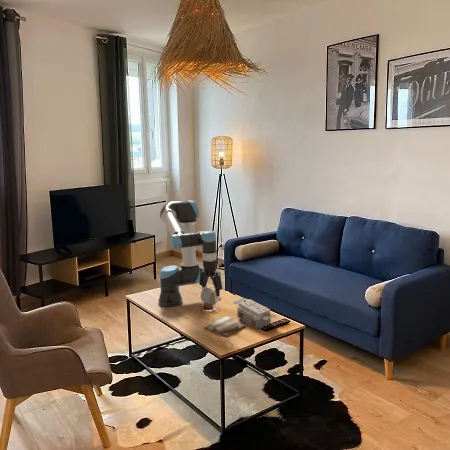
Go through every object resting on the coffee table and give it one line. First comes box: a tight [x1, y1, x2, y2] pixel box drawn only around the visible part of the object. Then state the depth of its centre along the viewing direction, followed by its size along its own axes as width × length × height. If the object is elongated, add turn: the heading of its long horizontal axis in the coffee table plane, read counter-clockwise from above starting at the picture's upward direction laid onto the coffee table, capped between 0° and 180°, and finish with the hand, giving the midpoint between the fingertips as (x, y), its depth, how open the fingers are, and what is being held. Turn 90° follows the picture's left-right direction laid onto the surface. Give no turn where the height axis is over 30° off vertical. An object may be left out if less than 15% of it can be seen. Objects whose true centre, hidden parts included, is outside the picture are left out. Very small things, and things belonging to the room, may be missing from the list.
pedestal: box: [203, 316, 246, 338], centre depth 248 cm, size 16×16×4 cm
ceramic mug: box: [200, 287, 222, 305], centre depth 247 cm, size 11×8×8 cm
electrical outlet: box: [232, 298, 277, 329], centre depth 255 cm, size 12×28×10 cm, turn 37°
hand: (211, 299), depth 247 cm, fingers closed on ceramic mug, 8 cm apart
